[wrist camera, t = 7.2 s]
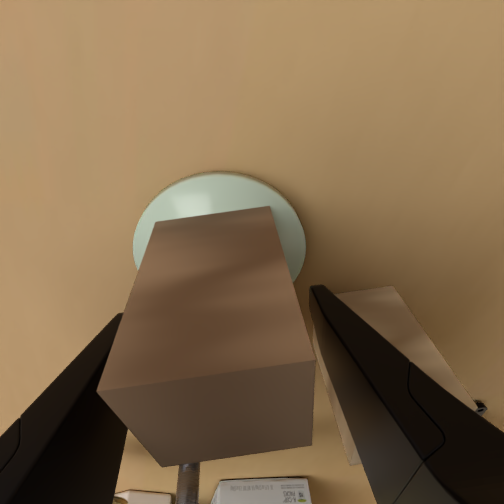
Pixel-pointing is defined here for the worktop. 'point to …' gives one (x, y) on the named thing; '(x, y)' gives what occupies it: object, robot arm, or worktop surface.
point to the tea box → (263, 491)
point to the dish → (223, 209)
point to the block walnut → (213, 343)
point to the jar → (145, 497)
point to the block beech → (399, 335)
